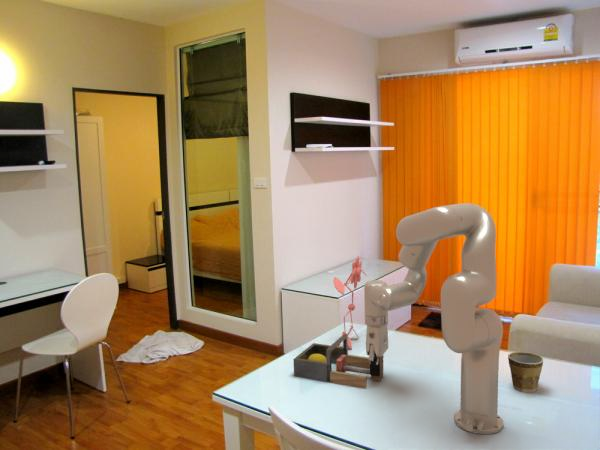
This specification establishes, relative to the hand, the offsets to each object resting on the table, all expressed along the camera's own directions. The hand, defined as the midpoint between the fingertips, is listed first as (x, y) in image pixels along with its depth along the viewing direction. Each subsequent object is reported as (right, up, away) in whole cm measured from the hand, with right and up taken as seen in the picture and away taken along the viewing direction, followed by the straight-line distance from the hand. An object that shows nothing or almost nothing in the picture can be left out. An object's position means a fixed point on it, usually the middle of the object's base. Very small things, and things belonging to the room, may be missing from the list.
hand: (376, 372), depth 172 cm
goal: (-17, -2, +8) cm, 19 cm away
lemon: (-15, +1, +7) cm, 17 cm away
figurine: (-2, +2, +32) cm, 32 cm away
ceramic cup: (+45, -2, -8) cm, 46 cm away
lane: (-6, -2, +3) cm, 7 cm away
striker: (-5, -2, +3) cm, 6 cm away
